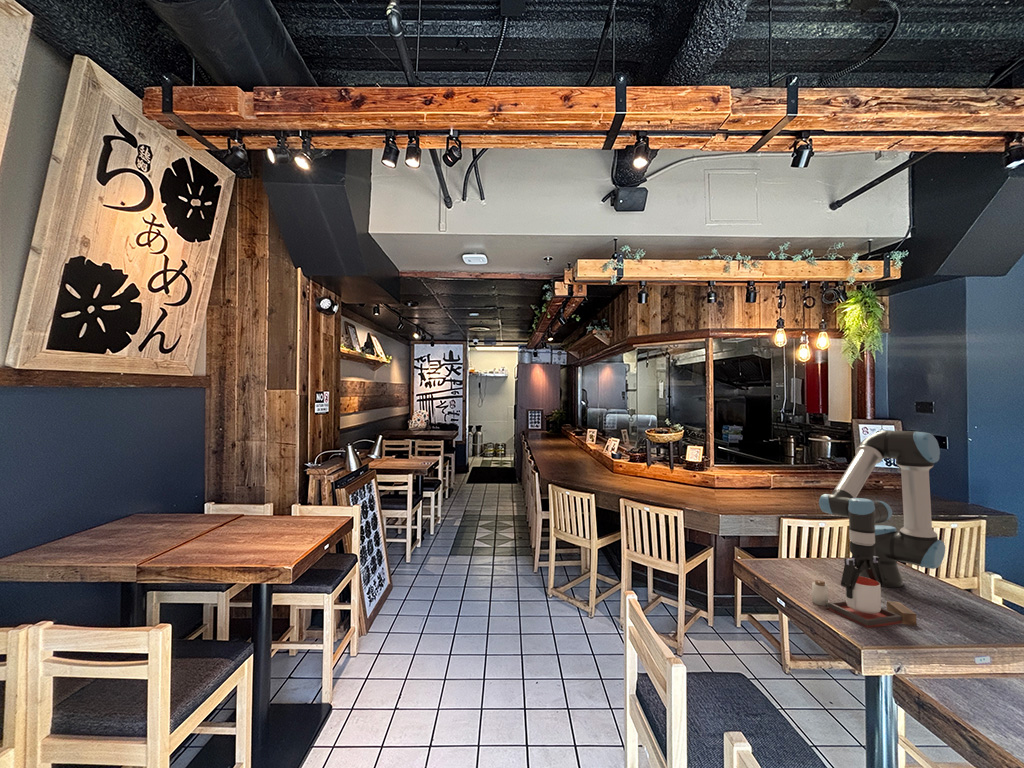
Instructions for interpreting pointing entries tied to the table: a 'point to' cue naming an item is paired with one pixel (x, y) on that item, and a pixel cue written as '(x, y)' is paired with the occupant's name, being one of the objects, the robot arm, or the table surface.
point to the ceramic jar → (820, 593)
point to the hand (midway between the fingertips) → (863, 605)
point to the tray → (865, 615)
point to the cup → (867, 595)
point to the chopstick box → (902, 612)
